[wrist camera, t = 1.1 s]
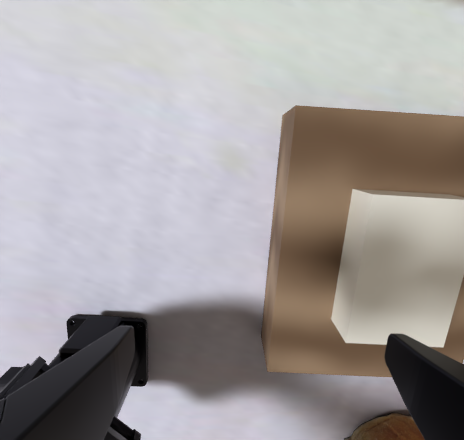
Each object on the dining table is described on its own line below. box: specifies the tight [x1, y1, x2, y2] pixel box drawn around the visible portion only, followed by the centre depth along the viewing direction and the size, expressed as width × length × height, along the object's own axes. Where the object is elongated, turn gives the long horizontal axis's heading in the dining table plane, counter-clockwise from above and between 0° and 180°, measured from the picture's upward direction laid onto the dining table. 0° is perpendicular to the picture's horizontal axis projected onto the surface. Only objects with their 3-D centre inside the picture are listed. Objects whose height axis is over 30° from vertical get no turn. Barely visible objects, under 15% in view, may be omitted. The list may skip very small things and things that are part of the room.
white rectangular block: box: [331, 189, 464, 347], centre depth 17 cm, size 9×6×2 cm, turn 177°
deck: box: [261, 106, 464, 377], centre depth 20 cm, size 18×14×4 cm
